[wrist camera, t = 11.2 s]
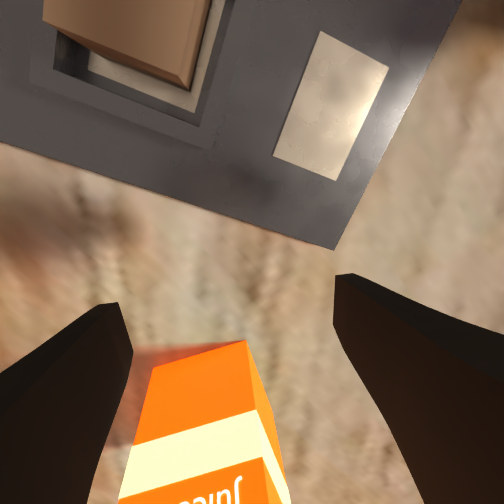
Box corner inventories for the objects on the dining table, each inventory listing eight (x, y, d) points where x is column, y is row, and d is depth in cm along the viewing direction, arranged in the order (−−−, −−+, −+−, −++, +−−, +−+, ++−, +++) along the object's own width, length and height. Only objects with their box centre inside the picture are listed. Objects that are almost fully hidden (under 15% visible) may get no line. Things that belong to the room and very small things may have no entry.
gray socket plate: (446, 5, 15) (503, -25, 12) (327, 243, 20) (346, 264, 17) (-60, -319, 10) (-182, -518, 7) (-56, 115, 14) (-126, 113, 11)
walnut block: (213, -6, 13) (212, -82, 8) (190, 92, 14) (177, 75, 9) (117, -52, 12) (55, -168, 7) (103, 58, 13) (42, 20, 8)
